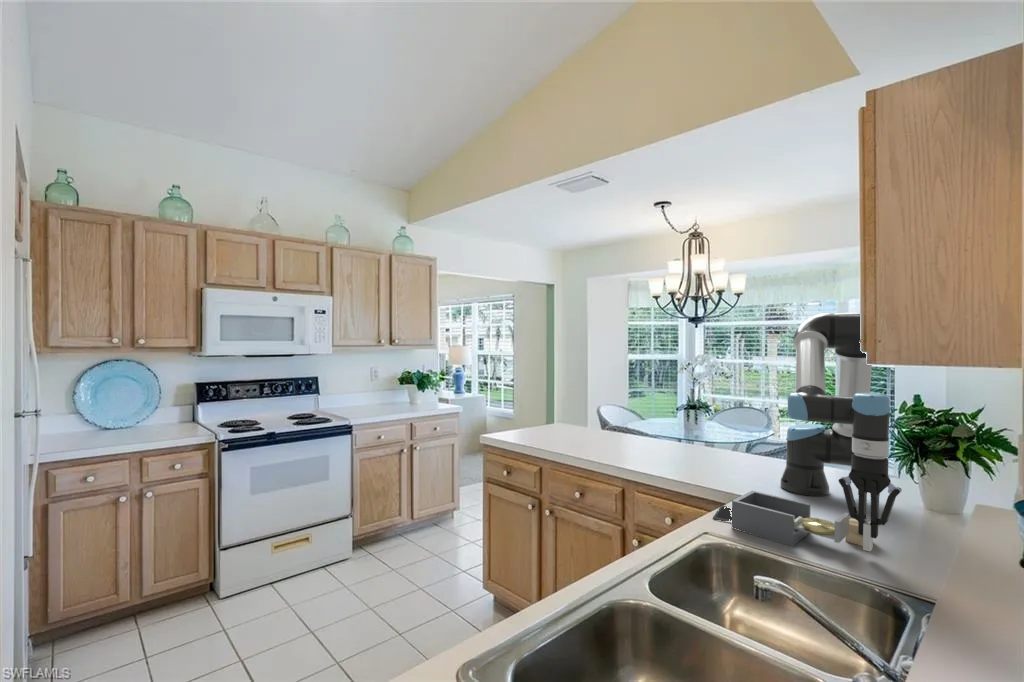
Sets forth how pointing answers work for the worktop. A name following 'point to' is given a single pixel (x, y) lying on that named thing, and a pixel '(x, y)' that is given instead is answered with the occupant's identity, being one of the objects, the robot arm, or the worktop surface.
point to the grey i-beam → (840, 528)
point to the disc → (818, 526)
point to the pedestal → (854, 533)
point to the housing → (769, 516)
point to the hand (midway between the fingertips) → (867, 548)
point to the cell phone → (723, 514)
